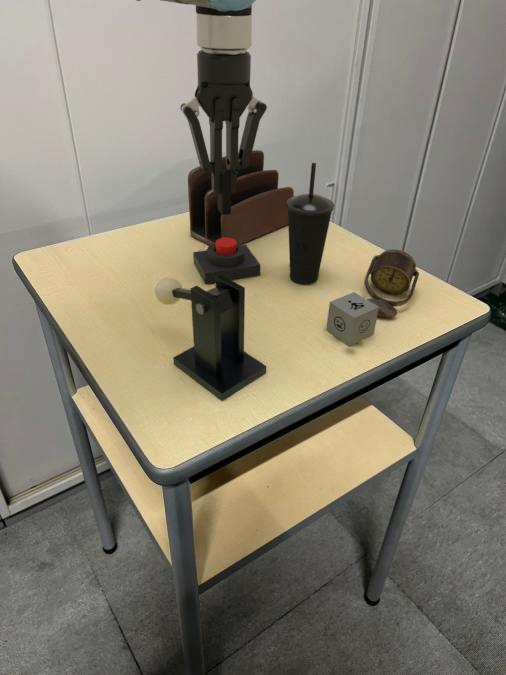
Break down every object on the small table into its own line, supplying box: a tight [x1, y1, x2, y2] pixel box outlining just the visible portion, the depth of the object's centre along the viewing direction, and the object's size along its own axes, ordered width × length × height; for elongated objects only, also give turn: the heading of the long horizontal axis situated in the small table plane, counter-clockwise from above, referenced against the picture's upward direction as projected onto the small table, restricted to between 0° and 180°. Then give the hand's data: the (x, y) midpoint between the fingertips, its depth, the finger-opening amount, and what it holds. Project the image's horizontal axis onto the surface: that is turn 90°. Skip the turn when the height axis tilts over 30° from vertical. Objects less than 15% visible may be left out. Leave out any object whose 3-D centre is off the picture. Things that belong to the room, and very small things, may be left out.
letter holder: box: [187, 149, 295, 246], centre depth 102 cm, size 10×20×14 cm, turn 135°
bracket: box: [172, 275, 267, 401], centre depth 67 cm, size 10×8×13 cm
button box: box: [192, 242, 261, 285], centre depth 91 cm, size 10×8×4 cm
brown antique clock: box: [363, 249, 420, 318], centre depth 84 cm, size 7×13×10 cm
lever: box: [154, 276, 234, 313], centre depth 68 cm, size 14×4×4 cm, turn 44°
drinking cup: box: [286, 162, 335, 286], centre depth 85 cm, size 8×8×20 cm
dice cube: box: [325, 291, 379, 347], centre depth 76 cm, size 5×5×5 cm
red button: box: [216, 238, 236, 255], centre depth 90 cm, size 4×4×2 cm
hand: (224, 211), depth 86 cm, fingers closed
